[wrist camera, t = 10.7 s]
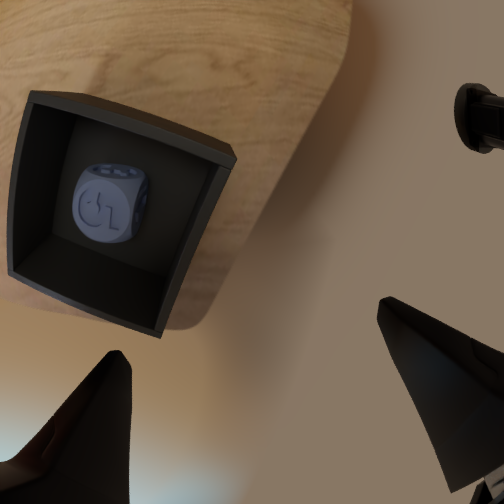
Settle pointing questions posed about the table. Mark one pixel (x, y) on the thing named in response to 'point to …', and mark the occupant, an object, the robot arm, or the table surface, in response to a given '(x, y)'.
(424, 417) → the robot arm
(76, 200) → the decorative dice
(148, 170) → the waste bin
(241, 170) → the table surface
